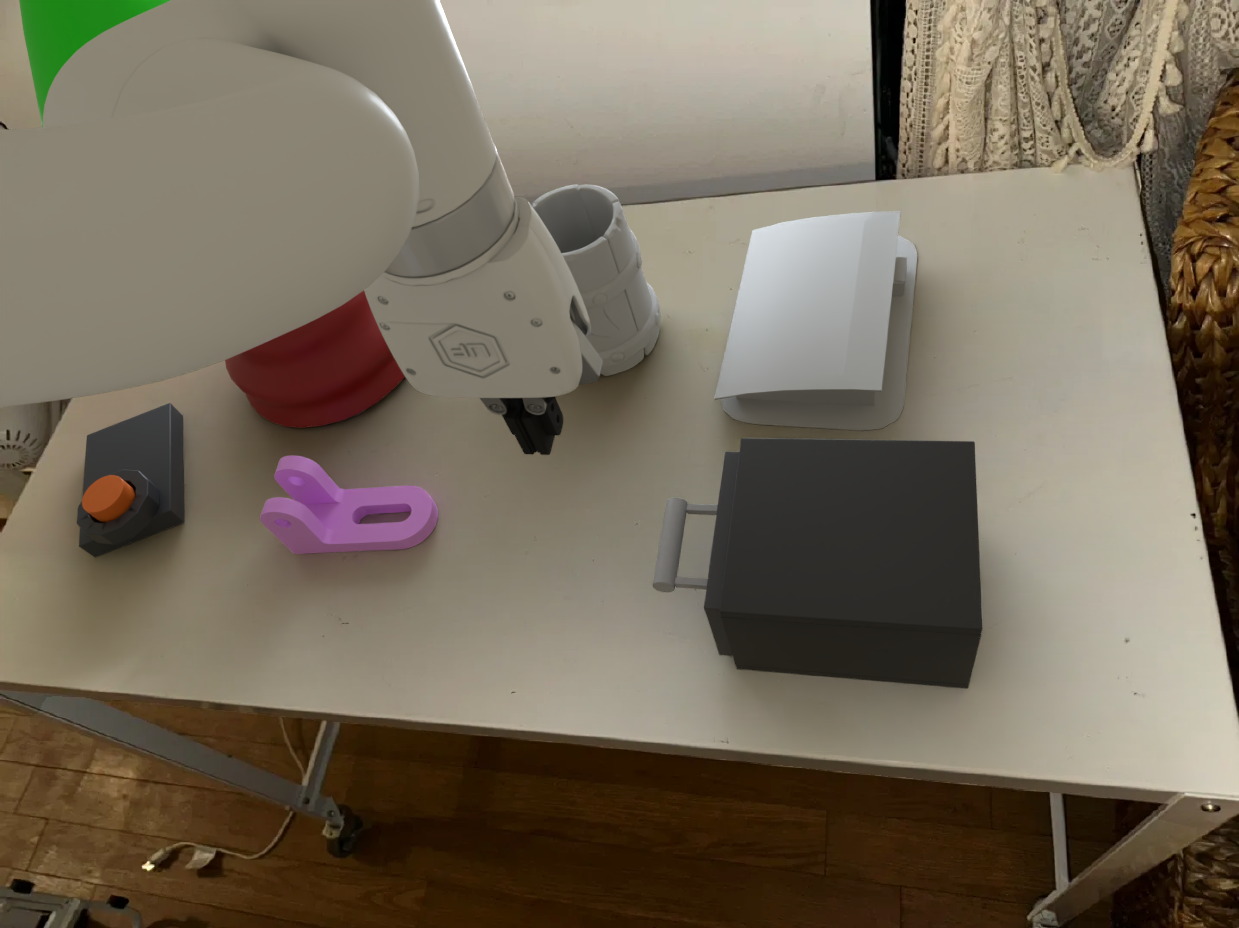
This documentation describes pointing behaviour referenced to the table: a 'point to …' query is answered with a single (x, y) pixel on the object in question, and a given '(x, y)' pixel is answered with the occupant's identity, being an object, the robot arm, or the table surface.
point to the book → (822, 324)
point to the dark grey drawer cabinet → (855, 560)
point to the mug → (604, 272)
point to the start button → (108, 498)
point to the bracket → (343, 512)
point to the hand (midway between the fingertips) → (542, 435)
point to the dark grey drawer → (713, 584)
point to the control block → (136, 478)
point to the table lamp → (287, 365)
